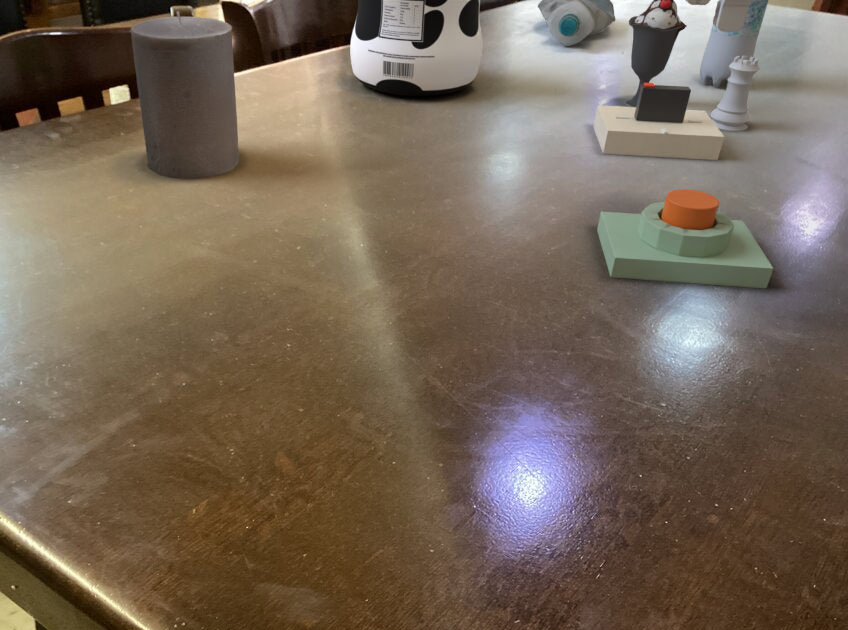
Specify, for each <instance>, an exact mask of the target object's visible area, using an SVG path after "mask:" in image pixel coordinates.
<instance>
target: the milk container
mask: <svg viewBox="0 0 848 630" xmlns="http://www.w3.org/2000/svg"><path fill="white" fill-rule="evenodd" d="M357 3H358V5H357V14H356V18H355V22H354V26H353V28H352V32H351V36H350V37H351V38H350V46H349V53H350V54H349V55H350V63H351V69H352V73H353V75H354V77H355V79H357V81H358V82H360V83H361V84H362V85H363V86H364V87H366V88H369V89H373V90H374V91H377V92H381V93H387V94H392V95H396V96H408V97H433V96H434V97H435V96H439V95H446V94H447V95H448V94H452V93H455V92H458V91H461V90H464V89H465V88H466V87H468V86H470V85H471V84H472V83H473V82H474V81H475V79H476V77H477V76H478V72H479V69H480V66H481V61H482V57H483V46H484V45H483V44H484V43H483V36H482V28H481V21H480V9H481V8H480V6H481V0H358V2H357Z"/></svg>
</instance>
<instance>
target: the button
mask: <svg viewBox="0 0 848 630" xmlns="http://www.w3.org/2000/svg"><path fill="white" fill-rule="evenodd" d="M664 201H665V204H664V208H663V212H662V216H661V220H662V221H664V222H665V223H667V224H669V225H671V226H675V227H679V228H683V229H689V230H706V229H711V228H712V226H713V223H714V220H715V216H716V213H717V210H718V211H719V207H720V201H719V199H718V198H717V197H715V196H714V195H712V194H710V193H707V192H704V191H702V190H701V191H700V190H696V189H685V188H684V189H682V188H681V189H675V190H671V191H669V192H668V193H667V194H666V197H665V200H664Z"/></svg>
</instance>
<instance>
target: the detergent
mask: <svg viewBox="0 0 848 630" xmlns="http://www.w3.org/2000/svg"><path fill="white" fill-rule="evenodd" d="M537 8H538V9H539V11H540V13H541V15H542V17H543V19H544V20H545V21H546V25H547V27H548V29H549V32H550V33H551V34H552V36H553V38H555V40H556V41H557V42H559V44H561V45H563V46H564V47H571V46H574V45H577V43H580V42H581V41H582V40H584V39H585V38H586V37H588V36H596V35H598V34H600V33H602V32H603V31H605V30H606V29H607V28H608V27H609V26H611V24H613V23H614V22H615V21H616V15H615V7H614V4H613V2H612V1H611V0H541V1H540V2H539V3H538V4H537Z"/></svg>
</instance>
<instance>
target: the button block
mask: <svg viewBox="0 0 848 630" xmlns="http://www.w3.org/2000/svg"><path fill="white" fill-rule="evenodd" d="M664 204H665V200H664V201H659V202H654V203H650V204H648V205H647V206H646V207H645V208H644V209H643V210H642V211H641V213H630V212H629V213H628V212H617V211H615V212H614V211H600V215H599V219H598V224H597V228H596V232H597V234H598V238H599V242H600V245H601V249H602V252H603V256H604V259H605V263H606V266H607V269H608V274H609V276H610V278H619V279H630V280H631V279H632V280H645V281H657V282H659V281H660V282H671V283H672V282H673V283H687V284H701V285H713V286H714V285H716V286H727V287H728V286H729V287H740V288H742V287H743V288H756V289H768V285H769V282H770V281H771V278H772V274H773V271H774V267H773V265H772V263H771V262H770V261H769V259H768V257H767V256H766V254H765V253H764V251H763V250H762V248H761V246H760V245H759V243H758V242H757V240H756V238H755V237H754V235H753V234H752V233H751V231H750V229H749V228H748V226H747V225H746V223H745V222H744V220H739V219H731V217H730V216H729V215H727V214H725V213H724V212H722V211H720V210H719V209H718V210H717V213H716V216H715V220H714V223H713V226H712V228H711V229H706V230H689V229H683V228H679V227H675V226H671V225H669V224H667V223H665V222H664V221H662V220H661V216H662V212H663V208H664Z"/></svg>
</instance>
